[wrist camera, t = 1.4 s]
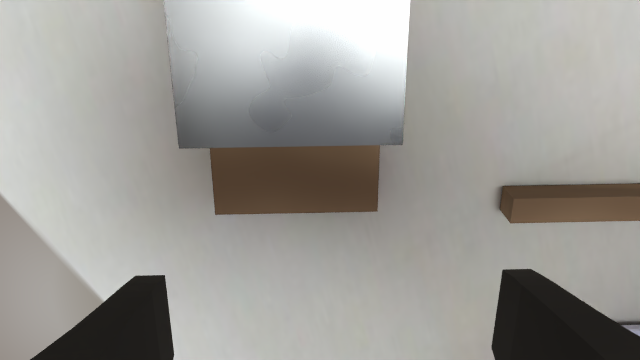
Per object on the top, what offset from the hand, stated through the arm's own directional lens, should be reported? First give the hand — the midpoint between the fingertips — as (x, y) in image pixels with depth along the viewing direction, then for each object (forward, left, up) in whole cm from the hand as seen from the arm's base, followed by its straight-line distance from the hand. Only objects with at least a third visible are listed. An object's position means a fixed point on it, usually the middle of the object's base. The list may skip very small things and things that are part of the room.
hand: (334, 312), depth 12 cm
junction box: (+6, +1, -9) cm, 11 cm away
